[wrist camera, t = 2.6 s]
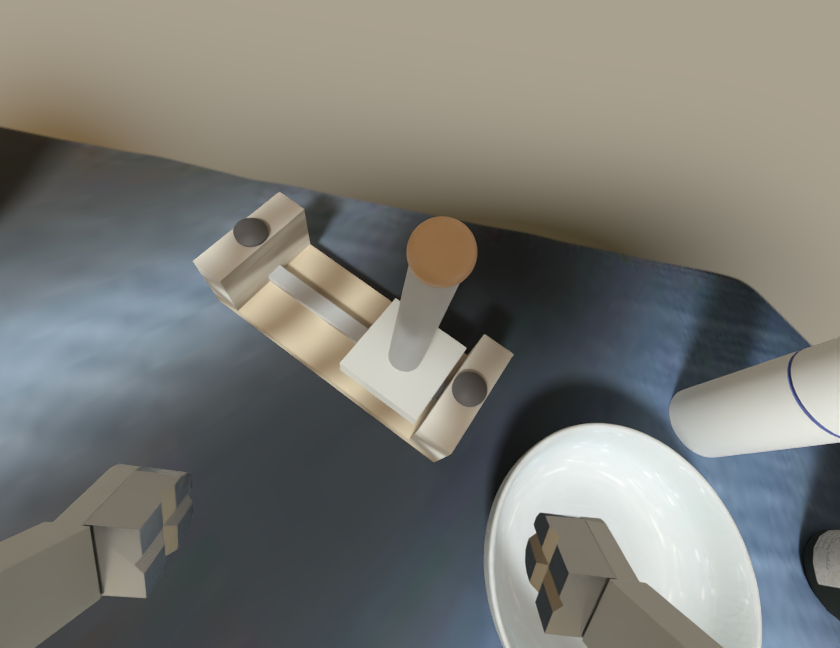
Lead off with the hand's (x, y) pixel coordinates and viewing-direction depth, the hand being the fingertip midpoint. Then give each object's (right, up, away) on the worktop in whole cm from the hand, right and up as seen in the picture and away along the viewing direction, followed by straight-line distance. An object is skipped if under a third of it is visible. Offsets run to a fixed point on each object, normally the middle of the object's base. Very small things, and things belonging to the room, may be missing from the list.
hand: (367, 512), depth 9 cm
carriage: (0, +1, +27) cm, 27 cm away
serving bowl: (+15, -16, +25) cm, 33 cm away
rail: (-5, +3, +30) cm, 31 cm away
